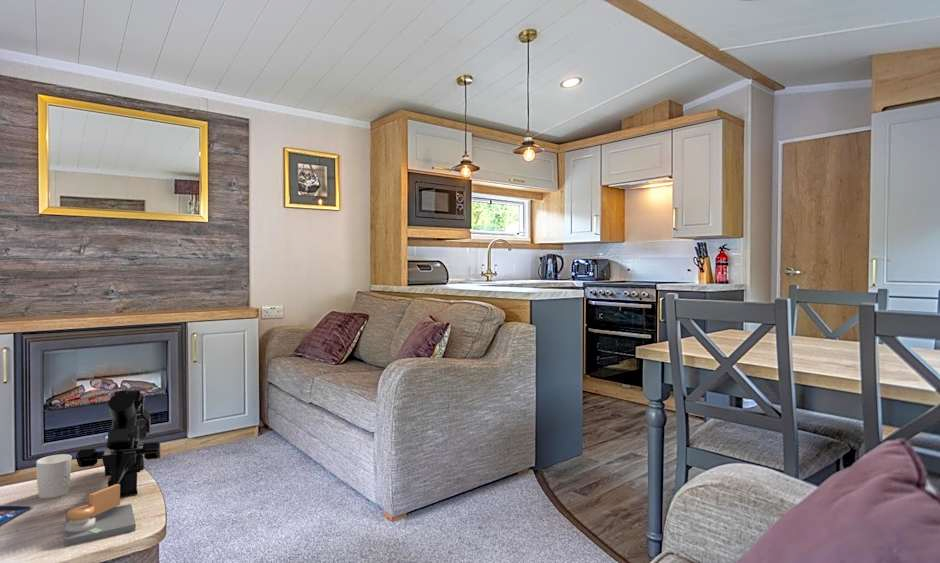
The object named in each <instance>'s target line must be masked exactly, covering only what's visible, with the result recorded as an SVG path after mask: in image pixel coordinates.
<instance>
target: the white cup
mask: <svg viewBox="0 0 940 563" xmlns="http://www.w3.org/2000/svg"><path fill="white" fill-rule="evenodd" d="M72 458H73V456H72V455H70V454H68V453H67V454H66V453H65V454H63V453H60V454H53V455H48V456H44V457H41V458H38V459H37V460H36V462H35V464H36V466H35V467H36V483H37V484H36V486H37V491H38V492H37V496H38V498H39V499H42V500H43V499H44V500H45V499H46V500H47V499H53V498H54V499H55V498H58V497H62V496H64V495H66V494H68V493H69V490H70V482H71V472H72V471H71V470H72Z"/></svg>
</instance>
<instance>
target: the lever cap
mask: <svg viewBox="0 0 940 563" xmlns="http://www.w3.org/2000/svg"><path fill="white" fill-rule="evenodd" d="M88 495H89V496H88V500H89V501H88V504H85V505H79V506H75V507H72V508H70V509H69V510H68V511H67V513H66V514H67V516H66V517H67V519H68V520H82V519H85V518H88V517H90V516H92V517H93V516H95V515H97V514H100V513H102V512H104V511H107V510H109V509H111V508H114V507H118V506H121V497H120V484H115V485H113V486H110V487H108V486H107V487H106V488H103V489H102V488H101V489H100V490H97V491H94V492H92V493H89V494H88Z"/></svg>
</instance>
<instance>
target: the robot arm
mask: <svg viewBox="0 0 940 563" xmlns="http://www.w3.org/2000/svg"><path fill="white" fill-rule="evenodd" d="M145 402H146V397H145V396H144V393H143V392H141V390H140V389H130V390H129V389H127V390H126V389H125V390H115V391H114V394H112V395H111V396H110V399H109V400H108V403H107V404H108V409H109V414H110V417H111V420H112V421H111V422H112V423H111V428H110V429H109V430H108V431H107V442H106V448H107V449H103V450H102V451H98V450H97V447H96V446H91V447H84V448H83V447H82V448H80V449H79V450H77V451H76V455H75V456H76V457H75V459H76V463H77V465H78V466H77V467H79V468H87V467H88V468H89V467H94V466H96V465H97V464H98V461H99V460H102V464H103V467H104V477H108V478H107V487H110V486H113V485H115V484H120V498H125V497H129V496H135V495H136V496H137V495H138V493H139V492H138V473H140V472H141V471H144V470H145V460H147V461H149V460H150V461H151V460H157V459H158V460H159V459H160V458H161V443H160V441H159V440H151V441H143V444H142V447H140V445H139V443H140V441H141V440H143V439H144V440H145V438H147V437H148V435H149V434H150V433H151V426H152V424H151V423H152V422H151V420H152V419H151V413H149V412H148V410H147V409H146V408H145ZM139 414H140V416H141V417H142V418H141V419H140V418H139V419H137V418H138V415H139Z"/></svg>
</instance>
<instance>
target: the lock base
mask: <svg viewBox="0 0 940 563" xmlns="http://www.w3.org/2000/svg"><path fill="white" fill-rule="evenodd" d="M136 524H137V523H136V519H135V516H134V511H133V506H132V503H128V504H124V505H119V506H116V507H114V508H111V509H109V510H107V511H104V512H102V513H100V514H97V515H95V516H93V517H92V516H90V517H88V518H85V519H82V520H68V519H67V516H66V518H65V526H64V528H65V531H64V547H68V546H72V545H77V544H80V543H85V542H89V541H94V540H99V539H103V538H107V537H111V536H116V535H120V534H125V533H129V532H135V531H136V527H137V526H136Z"/></svg>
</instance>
